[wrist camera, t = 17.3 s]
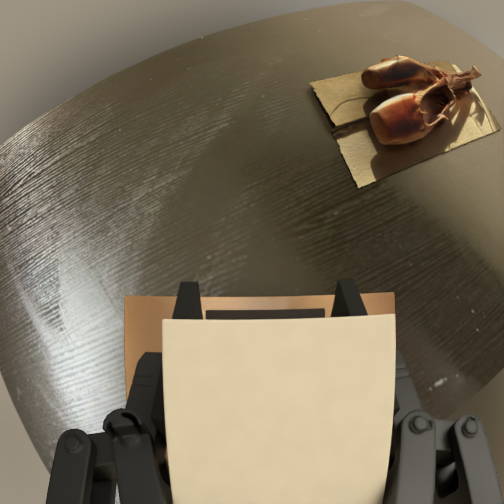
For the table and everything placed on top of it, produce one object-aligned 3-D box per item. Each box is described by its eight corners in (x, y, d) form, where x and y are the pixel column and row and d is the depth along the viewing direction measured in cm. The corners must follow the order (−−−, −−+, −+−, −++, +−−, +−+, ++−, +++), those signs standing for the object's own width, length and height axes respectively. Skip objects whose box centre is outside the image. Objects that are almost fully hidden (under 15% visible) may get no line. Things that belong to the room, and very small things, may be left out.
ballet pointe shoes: (300, 51, 27) (465, 31, 29) (294, 92, 33) (448, 58, 36) (382, 159, 24) (527, 105, 27) (360, 191, 30) (502, 128, 33)
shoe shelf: (152, 435, 26) (132, 458, 20) (148, 300, 28) (124, 295, 22) (365, 431, 26) (389, 453, 20) (367, 297, 28) (394, 292, 23)
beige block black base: (208, 310, 18) (157, 299, 8) (320, 308, 18) (398, 294, 8) (213, 486, 15) (186, 598, 6) (317, 483, 15) (364, 589, 6)
